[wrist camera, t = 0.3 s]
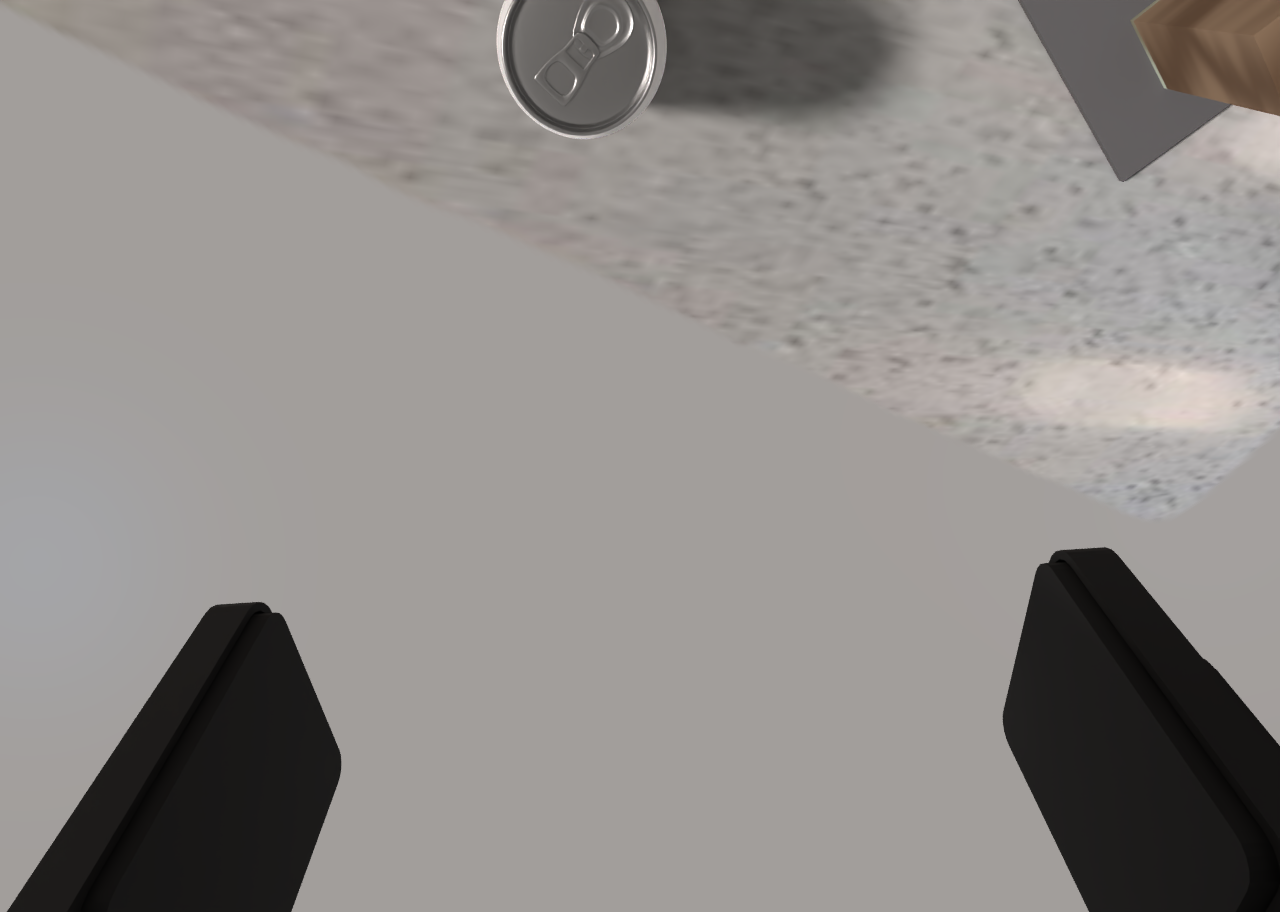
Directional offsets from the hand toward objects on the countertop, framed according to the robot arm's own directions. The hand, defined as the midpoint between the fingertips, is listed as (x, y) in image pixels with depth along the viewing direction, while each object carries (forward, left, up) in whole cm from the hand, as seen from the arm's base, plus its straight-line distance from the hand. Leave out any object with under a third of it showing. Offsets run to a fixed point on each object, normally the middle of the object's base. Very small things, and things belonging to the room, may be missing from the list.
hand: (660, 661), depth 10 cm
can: (-5, +2, -37) cm, 37 cm away
